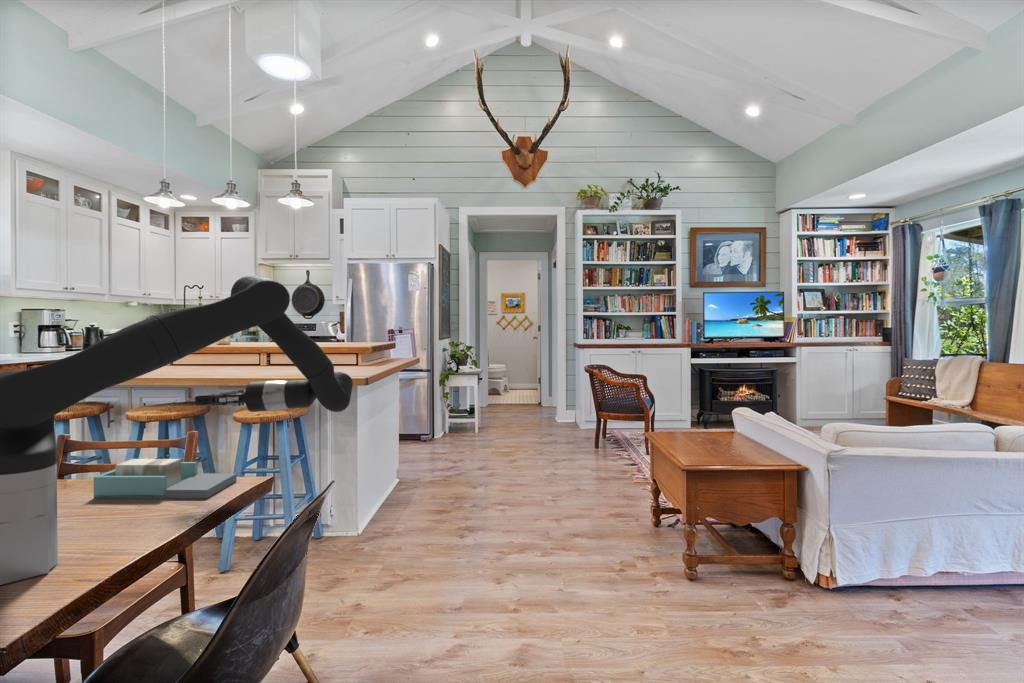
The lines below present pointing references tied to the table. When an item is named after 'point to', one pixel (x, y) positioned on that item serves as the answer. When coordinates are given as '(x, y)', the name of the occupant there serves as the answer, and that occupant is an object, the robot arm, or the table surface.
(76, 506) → the table surface
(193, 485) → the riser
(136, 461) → the block
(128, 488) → the box
